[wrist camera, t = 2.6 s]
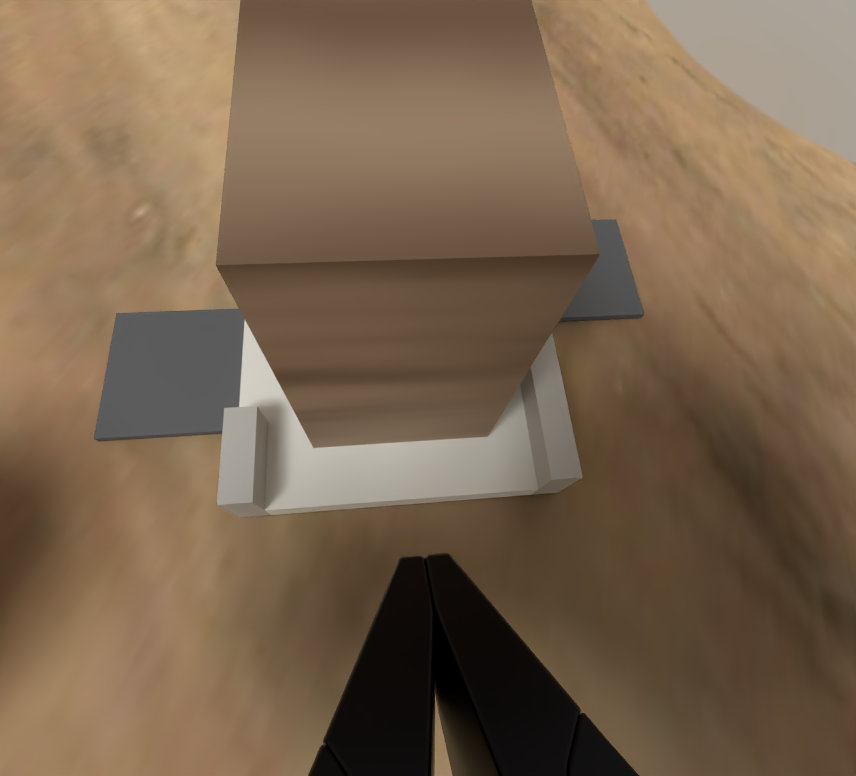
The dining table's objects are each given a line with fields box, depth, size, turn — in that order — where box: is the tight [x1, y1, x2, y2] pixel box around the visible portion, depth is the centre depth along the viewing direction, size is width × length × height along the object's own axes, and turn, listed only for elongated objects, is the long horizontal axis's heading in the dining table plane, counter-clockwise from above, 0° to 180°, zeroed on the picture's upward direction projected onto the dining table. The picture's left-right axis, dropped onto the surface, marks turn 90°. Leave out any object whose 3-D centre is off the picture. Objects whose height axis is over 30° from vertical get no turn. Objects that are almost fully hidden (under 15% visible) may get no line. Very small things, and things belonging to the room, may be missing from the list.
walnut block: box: [216, 0, 600, 448], centre depth 14 cm, size 9×6×10 cm, turn 5°
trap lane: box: [94, 220, 644, 517], centre depth 20 cm, size 22×21×4 cm
